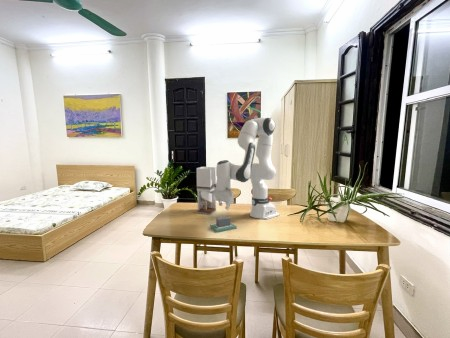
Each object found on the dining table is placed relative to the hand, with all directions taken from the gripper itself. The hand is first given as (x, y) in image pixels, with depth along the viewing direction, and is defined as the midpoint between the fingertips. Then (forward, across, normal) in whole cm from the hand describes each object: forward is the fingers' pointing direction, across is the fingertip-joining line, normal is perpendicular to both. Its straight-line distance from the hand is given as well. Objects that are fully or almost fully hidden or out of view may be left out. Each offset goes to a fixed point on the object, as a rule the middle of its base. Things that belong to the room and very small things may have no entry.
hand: (223, 207), depth 145 cm
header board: (+14, 0, +1) cm, 14 cm away
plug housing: (+12, 0, +1) cm, 12 cm away
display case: (+14, +35, -2) cm, 38 cm away
